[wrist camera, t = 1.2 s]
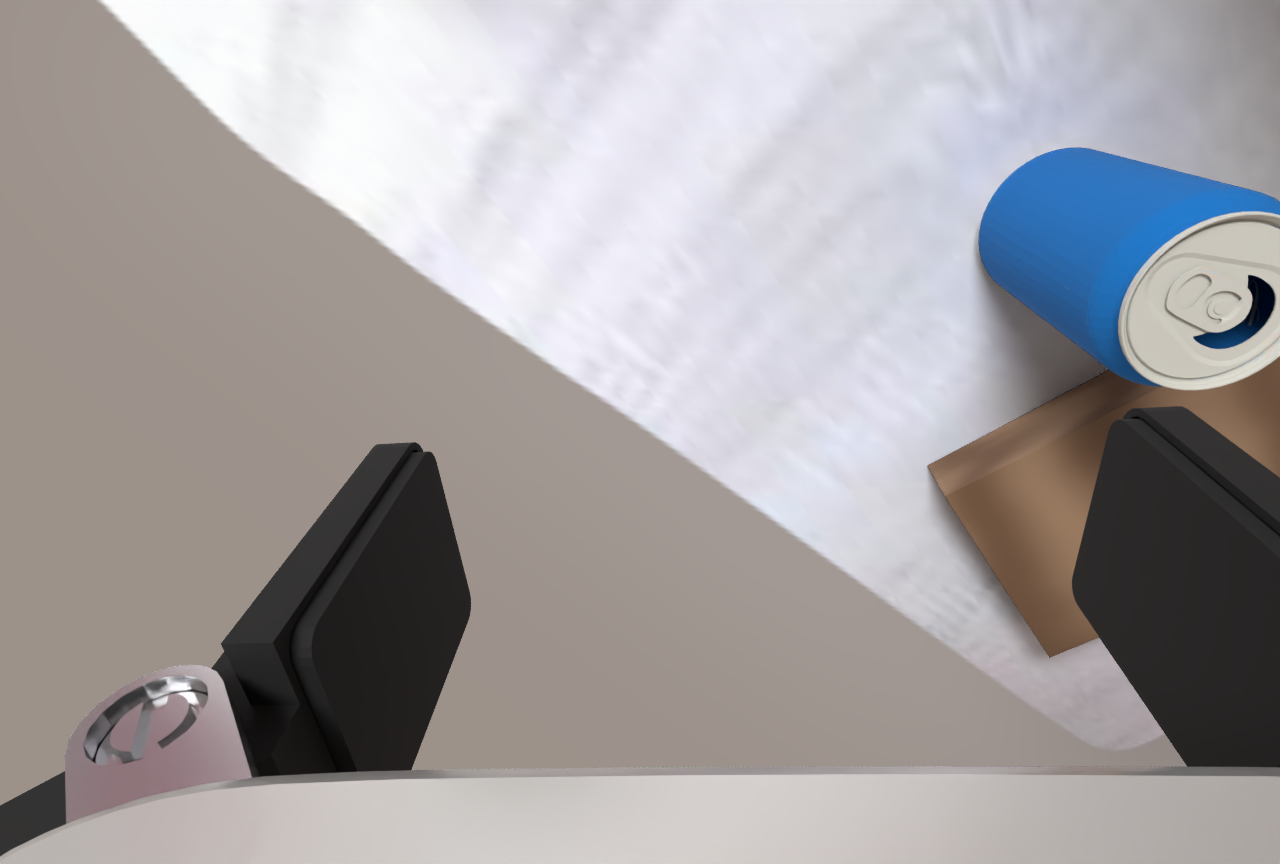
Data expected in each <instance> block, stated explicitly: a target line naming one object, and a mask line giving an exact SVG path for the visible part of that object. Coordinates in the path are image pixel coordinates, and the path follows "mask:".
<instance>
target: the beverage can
mask: <svg viewBox="0 0 1280 864" xmlns="http://www.w3.org/2000/svg"><path fill="white" fill-rule="evenodd" d="M979 251H980V255H981V259H982V262H983V264H984V267H985V269H986V270H987V272H988V274H989V275H990V276H991V277H992V279H993V280H994V281H995V282H996V283H997V284H999V285H1000V286H1001V287H1002V288H1004V289H1005V290H1006V291H1008V292H1009V293H1010V294H1011V295H1013V296H1014V297H1015V298H1017V299H1018V300H1019V301H1021V302H1022V303H1023V304H1025V305H1026V306H1027V307H1028V308H1030V309H1031V310H1032V311H1034V312H1035V313H1036V314H1038V315H1039V316H1040V317H1041V318H1043V319H1044V320H1045V321H1047V322H1048V323H1049V324H1051V325H1052V326H1053V327H1055V328H1056V329H1057V330H1058V331H1060V332H1061V333H1062V334H1064V335H1065V336H1066V337H1068V338H1069V339H1070V340H1071V341H1073V342H1074V343H1075V344H1077V345H1078V346H1079V347H1081V348H1082V349H1083V350H1085V351H1086V352H1087V353H1088V354H1090V355H1091V356H1092V357H1094V358H1095V359H1096V360H1098V361H1099V362H1100V363H1101V364H1103V365H1104V366H1105V367H1107V368H1108V369H1109V370H1111V371H1112V372H1114V373H1115V374H1117V375H1119V376H1120V377H1122V378H1124V379H1127V380H1129V381H1132V382H1135V383H1139V384H1143V385H1148V386H1157V387H1167V388H1171V389H1177V390H1206V389H1212V388H1217V387H1221V386H1225V385H1228V384H1231V383H1234V382H1237V381H1239V380H1241V379H1244V378H1246V377H1248V376H1250V375H1252V374H1254V373H1256V372H1258V371H1260V370H1261V369H1263V368H1264V367H1266V366H1267V365H1269V364H1270V363H1272V362H1273V361H1274V360H1276V359H1277V358H1278V357H1279V356H1280V202H1279V201H1278V200H1277V199H1275V198H1273V197H1270V196H1268V195H1266V194H1264V193H1260V192H1256V191H1253V190H1249V189H1245V188H1241V187H1237V186H1233V185H1229V184H1225V183H1221V182H1218V181H1214V180H1210V179H1206V178H1202V177H1198V176H1194V175H1190V174H1186V173H1182V172H1178V171H1175V170H1171V169H1167V168H1163V167H1159V166H1155V165H1151V164H1147V163H1143V162H1139V161H1135V160H1132V159H1128V158H1124V157H1120V156H1116V155H1112V154H1108V153H1104V152H1100V151H1096V150H1092V149H1087V148H1065V149H1058V150H1055V151H1051V152H1048V153H1045V154H1043V155H1040V156H1038V157H1036V158H1034V159H1032V160H1030V161H1028V162H1027V163H1025V164H1024V165H1022V166H1021V167H1019V168H1018V169H1017V170H1015V171H1014V172H1013V173H1012V174H1011V175H1010V176H1009V177H1008V178H1007V179H1006V180H1005V181H1004V182H1003V183H1002V184H1001V185H1000V186H999V188H998V189H997V190H996V192H995V193H994V195H993V196H992V198H991V200H990V201H989V203H988V205H987V207H986V209H985V212H984V214H983V217H982V221H981V225H980V230H979Z"/></svg>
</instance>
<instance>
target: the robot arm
mask: <svg viewBox="0 0 1280 864" xmlns="http://www.w3.org/2000/svg"><path fill="white" fill-rule="evenodd" d="M1072 591H1073V596H1074V598H1075V601H1076V603H1077V605H1078V607H1079V608H1080V610H1081V611H1082V613H1083V614H1084V616H1085V617H1086V618H1087V620H1088V621H1089V623H1090V624H1091V626H1092V627H1093V629H1094V630H1095V632H1096V633H1097V635H1098V636H1099V638H1100V639H1101V640H1102V642H1103V643H1104V645H1105V646H1106V648H1107V649H1108V651H1109V652H1110V654H1111V655H1112V657H1113V658H1114V660H1115V661H1116V662H1117V664H1118V665H1119V667H1120V668H1121V670H1122V671H1123V673H1124V674H1125V676H1126V677H1127V679H1128V680H1129V682H1130V683H1131V684H1132V686H1133V687H1134V689H1135V690H1136V692H1137V693H1138V695H1139V696H1140V698H1141V699H1142V701H1143V702H1144V704H1145V705H1146V706H1147V708H1148V709H1149V711H1150V712H1151V714H1152V715H1153V717H1154V718H1155V720H1156V721H1157V723H1158V724H1159V726H1160V727H1161V728H1162V730H1163V731H1164V733H1165V734H1166V736H1167V737H1168V739H1169V740H1170V742H1171V743H1172V745H1173V746H1174V748H1175V749H1176V750H1177V752H1178V753H1179V755H1180V756H1181V758H1182V759H1183V761H1184V762H1185V764H1186V765H1187V767H1085V766H1080V767H1078V766H1077V767H1076V766H1074V767H1073V766H1067V767H1066V766H1059V767H1058V766H1055V767H1054V766H1052V767H1051V766H1048V767H1047V766H933V767H932V766H907V767H906V766H900V767H899V766H895V767H894V766H891V767H889V766H886V767H671V768H670V767H666V768H665V767H662V768H553V769H552V768H551V769H550V768H549V769H458V770H457V769H456V770H411V769H412V767H413V764H414V761H415V759H416V756H417V753H418V751H419V748H420V746H421V743H422V740H423V738H424V735H425V732H426V730H427V727H428V724H429V722H430V719H431V717H432V714H433V712H434V709H435V706H436V704H437V701H438V698H439V696H440V693H441V691H442V688H443V685H444V683H445V680H446V678H447V675H448V672H449V669H450V667H451V664H452V662H453V659H454V657H455V654H456V651H457V649H458V646H459V644H460V641H461V638H462V635H463V633H464V630H465V628H466V625H467V623H468V620H469V616H470V611H471V597H470V592H469V588H468V584H467V580H466V576H465V572H464V568H463V565H462V560H461V556H460V552H459V548H458V544H457V541H456V537H455V533H454V529H453V526H452V521H451V517H450V513H449V509H448V506H447V502H446V498H445V494H444V490H443V486H442V482H441V478H440V474H439V470H438V466H437V462H436V460H435V457H434V455H433V454H432V453H431V452H423V450H422V448H421V446H420V445H419V444H417V443H395V444H378V445H376V446H374V447H373V448H372V450H371V451H370V452H369V454H368V455H367V456H366V457H365V459H364V460H363V461H362V463H361V464H360V465H359V466H358V468H357V469H356V470H355V472H354V473H353V474H352V476H351V477H350V478H349V479H348V481H347V482H346V483H345V484H344V486H343V487H342V488H341V490H340V491H339V492H338V494H337V495H336V496H335V497H334V499H333V500H332V502H330V504H329V505H328V506H327V508H326V509H325V510H324V512H323V513H322V514H321V515H320V517H319V518H318V519H317V521H316V522H315V523H314V525H313V526H312V527H311V528H310V530H309V531H308V532H307V534H306V535H305V536H304V537H303V539H302V540H301V541H300V543H299V544H298V545H297V546H296V548H295V549H294V550H293V552H292V553H291V554H290V555H289V557H288V558H287V559H286V561H285V562H284V563H283V564H282V566H281V567H280V568H279V570H278V571H277V572H276V573H275V575H274V576H273V577H272V579H271V580H270V581H269V582H268V584H267V585H266V586H265V588H264V589H263V590H262V591H261V593H260V594H259V595H258V597H257V598H256V599H255V600H254V602H253V603H252V604H251V606H250V607H249V608H248V610H247V611H246V612H245V613H244V615H243V616H242V618H241V619H240V620H239V621H238V622H237V624H236V625H235V626H234V628H233V629H232V630H231V632H230V633H229V634H228V635H227V637H226V638H225V639H224V640H223V642H222V643H221V645H222V647H223V649H224V653H223V654H222V655H221V657H220V658H219V659H218V661H217V662H216V663H215V665H214V666H213V667H212V669H210V668H208V667H205V666H200V665H181V666H176V667H170V668H165V669H162V670H159V671H156V672H154V673H151V674H148V675H146V676H142V677H140V678H139V679H137V680H135V681H133V682H131V683H129V684H127V685H125V686H124V687H122V688H120V689H118V690H117V691H115V692H114V693H113V694H111V695H110V696H109V697H107V698H106V699H104V700H103V701H102V702H100V703H99V704H98V705H97V706H96V707H95V708H94V709H93V710H92V711H91V712H90V713H89V714H88V715H87V716H86V717H85V718H84V719H83V720H82V721H81V722H80V723H79V725H78V726H77V728H76V730H75V731H74V733H73V734H72V736H71V738H70V739H69V741H68V745H67V749H66V754H65V772H63V773H61V774H59V775H57V776H55V777H53V778H51V779H50V780H48V781H46V782H44V783H42V784H40V785H38V786H36V787H34V788H32V789H31V790H29V791H27V792H25V793H23V794H21V795H19V796H17V797H16V798H14V799H12V800H10V801H8V802H6V803H4V804H2V805H1V806H0V864H1280V477H1278V476H1277V475H1276V474H1274V473H1273V472H1272V471H1270V470H1269V469H1268V468H1266V467H1265V466H1264V465H1262V464H1261V463H1260V462H1258V461H1257V460H1256V459H1254V458H1253V457H1252V456H1250V455H1249V454H1248V453H1246V452H1245V451H1244V450H1242V449H1241V448H1239V447H1238V446H1237V445H1235V444H1234V443H1233V442H1231V441H1230V440H1229V439H1227V438H1226V437H1225V436H1223V435H1222V434H1221V433H1219V432H1218V431H1217V430H1215V429H1214V428H1213V427H1211V426H1210V425H1209V424H1207V423H1206V422H1205V421H1203V420H1202V419H1201V418H1199V417H1198V416H1197V415H1195V414H1194V413H1193V412H1191V411H1190V410H1189V409H1187V408H1185V407H1182V406H1171V407H1150V408H1132V409H1131V410H1129V411H1127V413H1126V414H1125V415H1124V417H1123V419H1122V420H1116V421H1114V422H1113V423H1112V425H1111V426H1110V428H1109V431H1108V435H1107V439H1106V443H1105V447H1104V451H1103V455H1102V459H1101V463H1100V467H1099V471H1098V475H1097V479H1096V483H1095V487H1094V491H1093V495H1092V499H1091V503H1090V508H1089V512H1088V516H1087V520H1086V524H1085V528H1084V532H1083V536H1082V540H1081V544H1080V548H1079V552H1078V556H1077V560H1076V564H1075V568H1074V572H1073V576H1072Z"/></svg>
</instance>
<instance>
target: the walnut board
mask: <svg viewBox="0 0 1280 864" xmlns="http://www.w3.org/2000/svg"><path fill="white" fill-rule="evenodd" d="M1171 406H1182V407H1185V408H1187V409H1189V410H1190V411H1191V412H1193V413H1194V414H1195V415H1197V416H1198V417H1199V418H1201V419H1202V420H1203V421H1205V422H1206V423H1207V424H1209V425H1210V426H1211V427H1213V428H1214V429H1215V430H1217V431H1218V432H1219V433H1221V434H1222V435H1223V436H1225V437H1226V438H1227V439H1229V440H1230V441H1231V442H1233V443H1234V444H1235V445H1237V446H1238V447H1239V448H1241V449H1242V450H1244V451H1245V452H1246V453H1248V454H1249V455H1250V456H1252V457H1253V458H1254V459H1256V460H1257V461H1258V462H1260V463H1261V464H1262V465H1264V466H1265V467H1266V468H1268V469H1269V470H1270V471H1272V472H1273V473H1274V474H1276V475H1277V476H1278V477H1280V356H1279V357H1278V358H1277V359H1276V360H1274V361H1273V362H1272V363H1270V364H1269V365H1267V366H1266V367H1264V368H1263V369H1261V370H1260V371H1258V372H1256V373H1254V374H1252V375H1250V376H1248V377H1246V378H1244V379H1241V380H1239V381H1237V382H1234V383H1231V384H1228V385H1225V386H1221V387H1217V388H1212V389H1206V390H1177V389H1171V388H1167V387H1157V386H1148V385H1143V384H1139V383H1135V382H1132V381H1129V380H1127V379H1124V378H1122V377H1120V376H1119V375H1117V374H1115V373H1114V372H1112V371H1111V370H1108V371H1106V372H1104V373H1102V374H1100V375H1099V376H1097V377H1095V378H1093V379H1091V380H1089V381H1087V382H1085V383H1083V384H1082V385H1080V386H1078V387H1076V388H1074V389H1072V390H1070V391H1068V392H1066V393H1064V394H1063V395H1061V396H1059V397H1057V398H1055V399H1053V400H1051V401H1049V402H1047V403H1045V404H1044V405H1042V406H1040V407H1038V408H1036V409H1034V410H1032V411H1030V412H1028V413H1027V414H1025V415H1023V416H1021V417H1019V418H1017V419H1015V420H1013V421H1011V422H1009V423H1008V424H1006V425H1004V426H1002V427H1000V428H998V429H996V430H994V431H992V432H990V433H989V434H987V435H985V436H983V437H981V438H979V439H977V440H975V441H973V442H971V443H970V444H968V445H966V446H964V447H962V448H960V449H958V450H956V451H954V452H953V453H951V454H949V455H947V456H945V457H943V458H941V459H939V460H937V461H935V462H934V463H932V464H930V465H928V467H929V469H930V471H931V473H932V474H933V476H934V478H935V480H936V481H937V483H938V485H939V487H940V488H941V490H942V492H943V494H944V495H945V497H946V499H947V500H948V502H949V503H950V505H951V506H952V508H953V509H954V511H955V513H956V514H957V516H958V517H959V519H960V520H961V522H962V523H963V525H964V526H965V528H966V529H967V531H968V533H969V534H970V536H971V537H972V539H973V540H974V542H975V543H976V545H977V546H978V548H979V550H980V551H981V553H982V554H983V556H984V557H985V559H986V560H987V562H988V563H989V565H990V567H991V568H992V570H993V571H994V573H995V574H996V576H997V577H998V579H999V580H1000V582H1001V584H1002V585H1003V587H1004V588H1005V590H1006V591H1007V593H1008V594H1009V596H1010V597H1011V599H1012V600H1013V602H1014V604H1015V605H1016V607H1017V608H1018V610H1019V611H1020V613H1021V614H1022V616H1023V617H1024V619H1025V621H1026V622H1027V624H1028V625H1029V627H1030V628H1031V630H1032V631H1033V633H1034V634H1035V636H1036V638H1037V639H1038V641H1039V642H1040V644H1041V645H1042V647H1043V648H1044V650H1045V651H1046V653H1047V654H1048V656H1049V658H1050V657H1052V656H1055V655H1057V654H1060V653H1062V652H1064V651H1067V650H1069V649H1072V648H1074V647H1077V646H1079V645H1082V644H1084V643H1086V642H1089V641H1091V640H1094V639H1096V638H1099V636H1098V635H1097V633H1096V632H1095V630H1094V629H1093V627H1092V626H1091V624H1090V623H1089V621H1088V620H1087V618H1086V617H1085V616H1084V614H1083V613H1082V611H1081V610H1080V608H1079V607H1078V605H1077V603H1076V601H1075V598H1074V596H1073V591H1072V576H1073V572H1074V568H1075V564H1076V560H1077V556H1078V552H1079V548H1080V544H1081V540H1082V536H1083V532H1084V528H1085V524H1086V520H1087V516H1088V512H1089V508H1090V503H1091V499H1092V495H1093V491H1094V487H1095V483H1096V479H1097V475H1098V471H1099V467H1100V463H1101V459H1102V455H1103V451H1104V447H1105V443H1106V439H1107V435H1108V431H1109V428H1110V426H1111V425H1112V423H1113V422H1114V421H1116V420H1122V419H1123V417H1124V415H1125V414H1126V413H1127V411H1129V410H1131V409H1132V408H1150V407H1171Z"/></svg>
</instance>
